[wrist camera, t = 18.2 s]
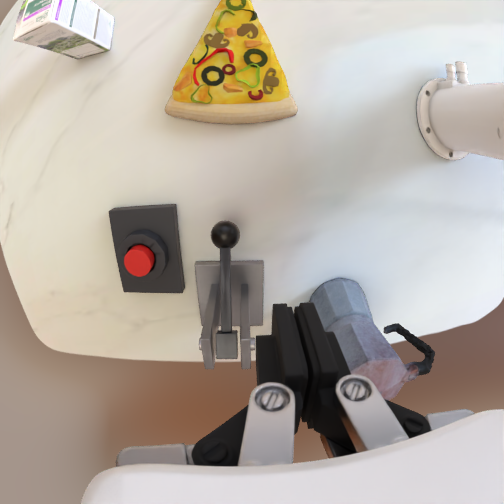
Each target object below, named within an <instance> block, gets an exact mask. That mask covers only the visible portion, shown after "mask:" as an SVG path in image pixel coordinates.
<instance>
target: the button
mask: <svg viewBox="0 0 504 504" xmlns="http://www.w3.org/2000/svg"><path fill="white" fill-rule="evenodd" d="M154 262H155V258H154V254H153V252H152V251H151V250H150V249H149V248H148V247H147V246H144V245H135V246H133V247H132V248H131V249H130V250H129V251H128V253H127V254H126V255H125V258H124V264H125V267H126V269H127V270H128V271H129V272H130V273H131V274H132V275H134V276H138V277H141V276H145V275H146V274H148V273H149V271H150V270H151V268H152V267H153V265H154Z"/></svg>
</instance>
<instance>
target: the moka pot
mask: <svg viewBox="0 0 504 504" xmlns="http://www.w3.org/2000/svg"><path fill="white" fill-rule="evenodd" d="M310 302H313V303H314V305H315V307H316V310H317V312H318V315H319V318H320V320H321V323H322V325H323V328H324V330H325V332H330V331H333V332H334V334H335V336H336V338H337V340H338V343H339V345H340V348H341V350H342V352H343V355H344V357H345V360H346V362H347V365H348V367H349V370H350V372H351V375H352V374H356V375H362V376H365V377H367V378H368V379H370V380H371V381H372V382H373V383H374V385H375V386H376V388H377V389H378V391H379V392H380V394H381V395H382V397H383V398H384V399H386V400H388V401H389V400H390V399H392V398H394V397H395V396H396V395H397V393H398V392H399V390H400V389H401V388H402V386H403V384H404V383H405V382H409V381H412V380H414V379H415V378H416V377H417V376H419V375H424V374H427V373H429V372H430V369H431V367H432V363H433V361H434V359H433V358H434V355H435V352H434V351H433V350H432V349H431V347H430V346H429V345H427V344H426V343H424V342H423V341H421V340H420V339H418V338H417V337H416V336H414V335H413V334H411V333H410V332H409V331H408V330H406V329H404V327H402V326H401V325H400V324H399V323H398V324H392V325H389V326H387V327H384V333H386V334H388V333H391V332H397V333H398V334H400V335H402V336H404V338H405V339H406V340H407V341H408V342H410V343H412V345H414V346H415V347H416V348H417V349H418V350H419V351H421V352H423V353H424V354H425V359H424V360H423V361H422V362H410V363H408V364H406V365H405V364H403V363H402V361H401V360H400V358H399V357H398V355H397V354H396V352H395V351H394V350H393V348H392V347H391V346H390V344H389V343H388V342H387V340H386V339H385V338H384V336H383V335H382V334H381V332H380V331H379V330H378V328H377V327H376V326H375V324H374V322H373V319H372V315H371V312H370V309H369V306H368V303H367V299H366V297H365V294H364V292H363V290H362V289H361V287H360V286H359V285H358V283H356V282H354V281H352V280H348V279H343V278H338V279H334V280H332V281H329V282H326V283H324V284H323V285H321V286H320V287H319V288H318V289H317V290H316V291H315V292H314V293H313V295H312V296H311V298H310Z"/></svg>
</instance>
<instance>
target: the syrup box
mask: <svg viewBox="0 0 504 504" xmlns="http://www.w3.org/2000/svg"><path fill="white" fill-rule="evenodd" d="M114 20H115V19H114V17H112V16H111V15H110V14H108V13H107V12H106V11H104V10H103V9H102V8H100V7H99V6H97V5H96V4H95V3H93V2H92V1H91V0H25V1H24V2H23V4H22V7H21V10H20V12H19V15H18V18H17V22H16V26H15V32H14V38H13V40H14V41H18V42H22V43H26V44H29V45H33V46H37V47H40V48H44V49H47V50H51V51H54V52H57V53H60V54H63V55H66V56H70V57H72V58H75V59H80V58H83V57H87V56H90V55H93V54H97V53H101V52H105V51H109V50H110V46H111V40H112V33H113V26H114Z"/></svg>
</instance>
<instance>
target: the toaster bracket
mask: <svg viewBox="0 0 504 504" xmlns="http://www.w3.org/2000/svg"><path fill="white" fill-rule="evenodd" d="M195 273H196V282H197V291H198V300H199V308H200V316H201V324H202V326H203V328H202V334H201V338H200V339H199V349H200V350H202V353H203V360H204V365H205V369H214V364H215V355H216V333H217V331H218V328H219V326H221V291H220V261H202V262H196V263H195ZM231 306H232V326H240V344H241V367H242V369H251V350H255V338H250V326H261V325H263V261H231Z"/></svg>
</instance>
